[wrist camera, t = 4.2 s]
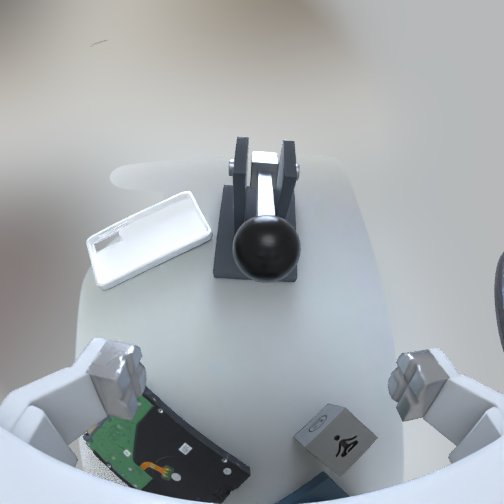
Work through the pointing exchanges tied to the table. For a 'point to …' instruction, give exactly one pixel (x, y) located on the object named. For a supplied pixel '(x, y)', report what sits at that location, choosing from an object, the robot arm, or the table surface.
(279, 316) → the table surface
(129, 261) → the phone case
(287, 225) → the lever
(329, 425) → the dice cube
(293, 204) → the bracket
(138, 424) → the disk drive
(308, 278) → the table surface
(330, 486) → the button box
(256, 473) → the table surface
